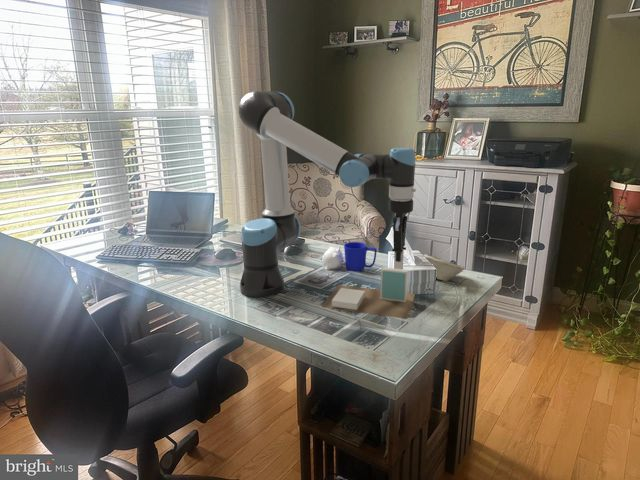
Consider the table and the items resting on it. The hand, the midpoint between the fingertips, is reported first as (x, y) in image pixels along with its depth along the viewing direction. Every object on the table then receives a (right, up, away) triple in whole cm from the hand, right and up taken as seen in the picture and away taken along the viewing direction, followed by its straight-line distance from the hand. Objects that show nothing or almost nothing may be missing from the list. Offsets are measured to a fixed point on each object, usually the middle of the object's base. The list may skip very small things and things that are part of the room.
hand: (398, 269), depth 146 cm
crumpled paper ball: (-20, -1, +27) cm, 33 cm away
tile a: (-15, -7, -2) cm, 17 cm away
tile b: (-2, -9, -5) cm, 10 cm away
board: (-10, -10, -5) cm, 15 cm away
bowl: (+18, -5, +13) cm, 23 cm away
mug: (-10, -2, +23) cm, 25 cm away
